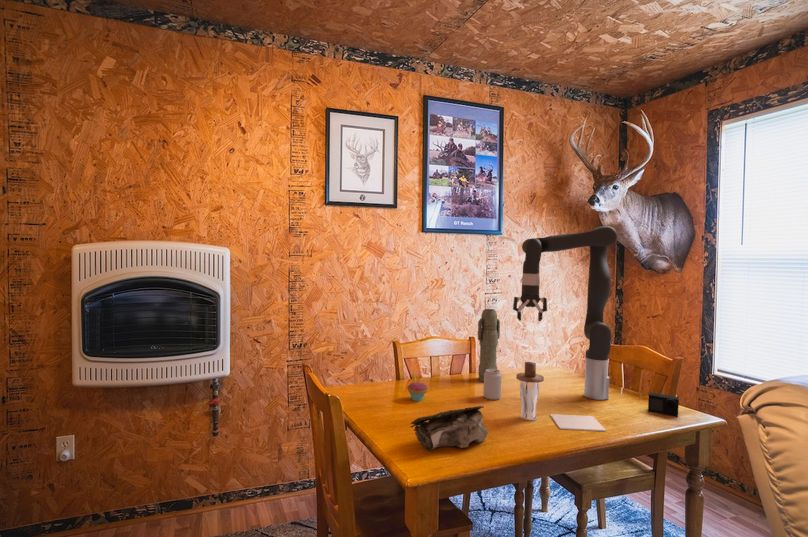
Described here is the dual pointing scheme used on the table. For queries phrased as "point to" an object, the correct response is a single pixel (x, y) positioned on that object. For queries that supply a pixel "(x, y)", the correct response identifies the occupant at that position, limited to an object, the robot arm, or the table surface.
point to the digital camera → (663, 404)
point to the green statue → (488, 341)
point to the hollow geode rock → (451, 428)
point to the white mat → (577, 422)
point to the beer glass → (529, 400)
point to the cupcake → (417, 390)
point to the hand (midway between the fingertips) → (529, 320)
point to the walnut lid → (530, 374)
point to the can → (492, 384)
